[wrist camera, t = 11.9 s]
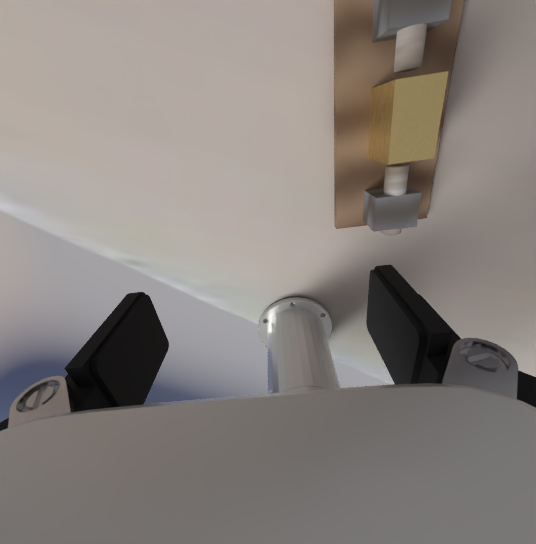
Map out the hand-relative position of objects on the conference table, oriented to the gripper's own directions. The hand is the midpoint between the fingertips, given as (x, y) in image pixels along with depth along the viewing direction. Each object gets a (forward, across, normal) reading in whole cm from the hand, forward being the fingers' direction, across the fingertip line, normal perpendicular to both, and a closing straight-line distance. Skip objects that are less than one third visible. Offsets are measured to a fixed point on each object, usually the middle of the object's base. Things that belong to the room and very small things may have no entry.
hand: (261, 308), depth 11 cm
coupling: (+25, -15, -6) cm, 30 cm away
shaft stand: (+26, -15, -6) cm, 31 cm away
